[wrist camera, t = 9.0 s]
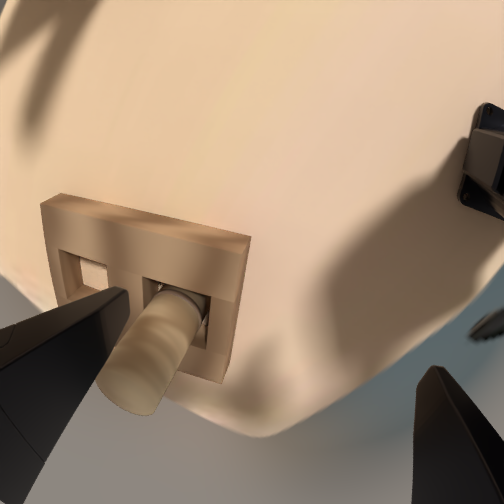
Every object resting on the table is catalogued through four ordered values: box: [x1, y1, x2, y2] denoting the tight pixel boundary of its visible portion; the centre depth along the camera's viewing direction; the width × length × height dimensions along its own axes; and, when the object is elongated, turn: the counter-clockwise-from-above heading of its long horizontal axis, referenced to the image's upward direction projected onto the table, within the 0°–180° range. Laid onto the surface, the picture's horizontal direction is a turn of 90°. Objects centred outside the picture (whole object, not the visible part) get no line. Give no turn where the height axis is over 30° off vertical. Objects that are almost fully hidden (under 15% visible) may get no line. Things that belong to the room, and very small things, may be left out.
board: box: [40, 193, 251, 384], centre depth 23 cm, size 16×12×2 cm
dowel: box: [95, 283, 211, 416], centre depth 20 cm, size 4×4×10 cm
